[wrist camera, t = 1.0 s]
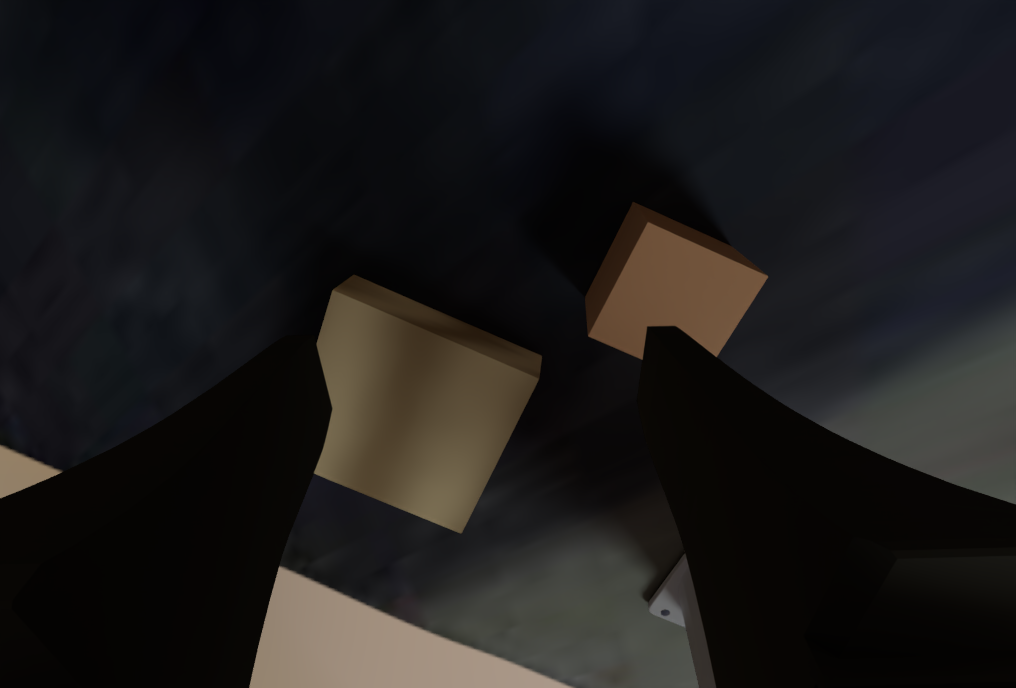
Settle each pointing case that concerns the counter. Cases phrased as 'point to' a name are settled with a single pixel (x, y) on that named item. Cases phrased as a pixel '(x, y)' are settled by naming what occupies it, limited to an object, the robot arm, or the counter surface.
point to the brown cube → (668, 284)
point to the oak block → (417, 401)
